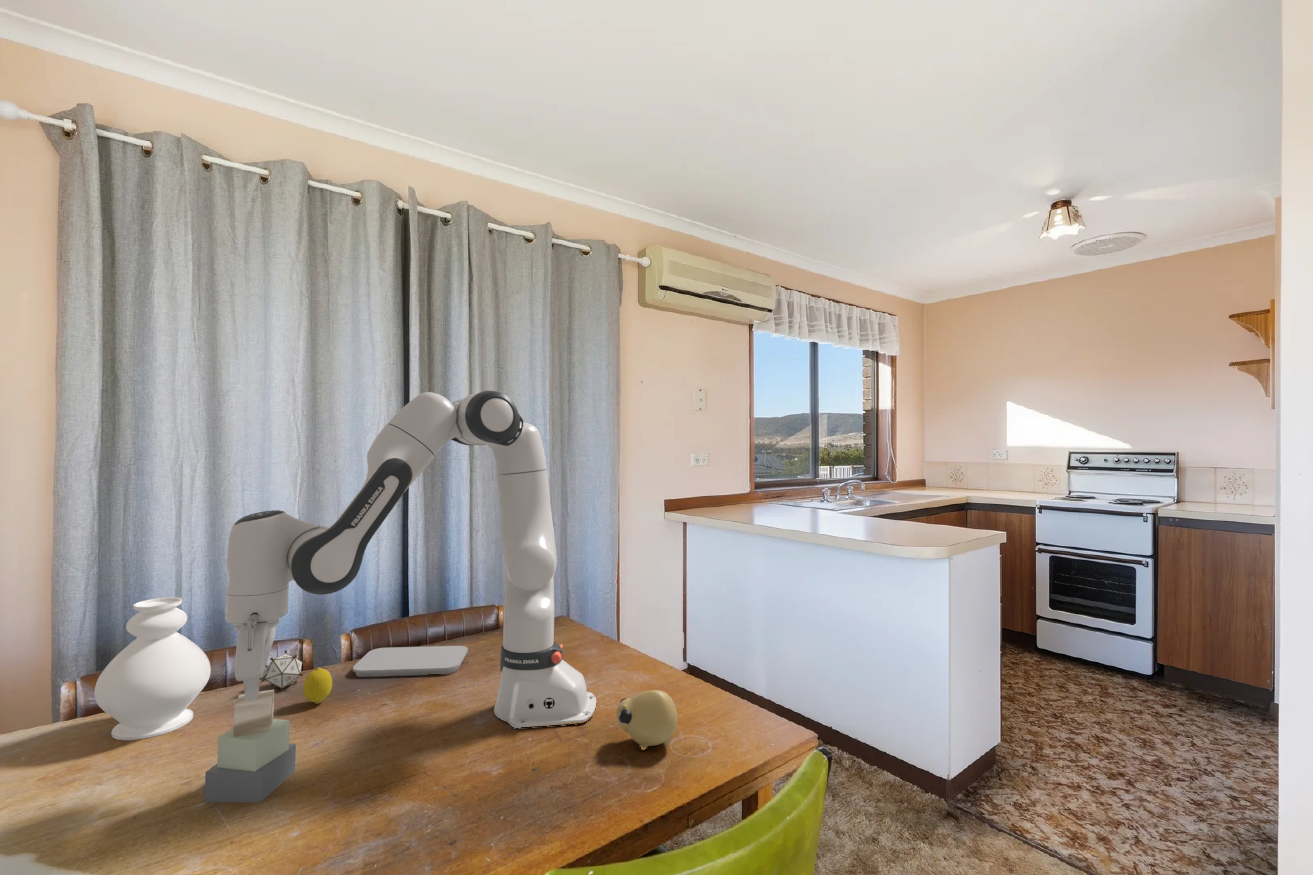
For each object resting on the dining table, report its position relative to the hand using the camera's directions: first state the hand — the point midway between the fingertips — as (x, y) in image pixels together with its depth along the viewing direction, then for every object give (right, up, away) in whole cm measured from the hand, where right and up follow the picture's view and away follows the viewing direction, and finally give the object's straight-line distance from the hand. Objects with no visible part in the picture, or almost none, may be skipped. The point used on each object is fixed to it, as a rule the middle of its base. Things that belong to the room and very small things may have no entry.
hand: (255, 687), depth 97 cm
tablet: (+4, -18, +54) cm, 57 cm away
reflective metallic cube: (0, -7, -1) cm, 7 cm away
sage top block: (+1, -12, -1) cm, 12 cm away
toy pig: (+67, -18, +15) cm, 71 cm away
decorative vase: (-34, -16, +19) cm, 42 cm away
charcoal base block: (0, -17, -1) cm, 17 cm away
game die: (-20, -17, +38) cm, 46 cm away
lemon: (-7, -17, +30) cm, 35 cm away
